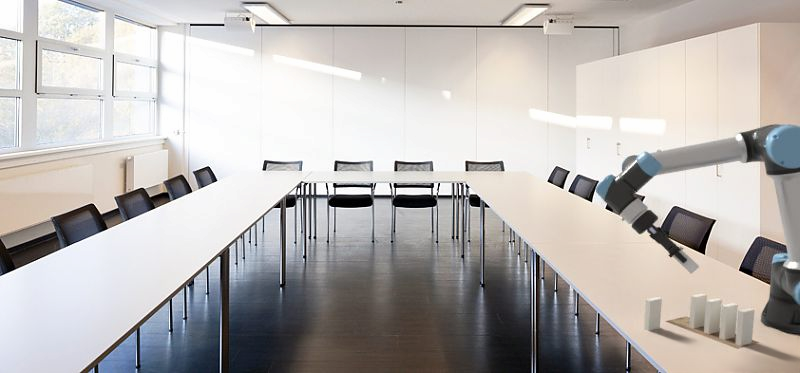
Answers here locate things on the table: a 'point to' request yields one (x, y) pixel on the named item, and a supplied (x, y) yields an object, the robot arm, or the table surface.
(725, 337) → the domino
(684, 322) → the board
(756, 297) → the table surface
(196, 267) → the table surface
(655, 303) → the domino
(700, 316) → the domino
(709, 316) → the domino
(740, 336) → the domino
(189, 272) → the table surface
